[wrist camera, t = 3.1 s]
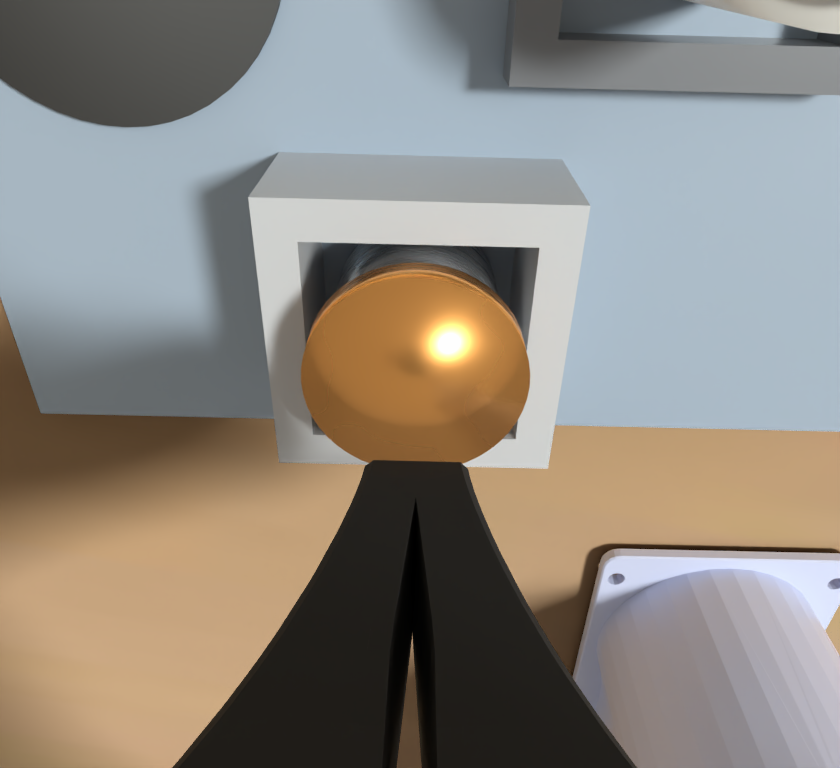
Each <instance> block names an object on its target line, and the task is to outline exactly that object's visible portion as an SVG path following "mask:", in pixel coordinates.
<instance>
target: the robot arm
mask: <svg viewBox="0 0 840 768" xmlns="http://www.w3.org/2000/svg"><path fill="white" fill-rule="evenodd" d="M617 573H618V574H617ZM612 574H616V575H612ZM839 604H840V553H801V552H754V551H708V550H662V549H612V550H610V551H608V552H606V553H605V554H604V555H603V556H602V558H601V561H600V565H599V569H598V573H597V577H596V581H595V586H594V590H593V594H592V598H591V602H590V606H589V611H588V615H587V619H586V623H585V627H584V631H583V635H582V640H581V644H580V648H579V652H578V656H577V660H576V664H575V669H574V673H573V677H572V676H571V675H570V673H569V672H568V670H567V668H566V667H565V665H564V664H563V662H562V661H561V659H560V658H559V656H558V654H557V653H556V651H555V650H554V648H553V646H552V645H551V643H550V641H549V640H548V638H547V636H546V635H545V633H544V631H543V630H542V628H541V626H540V625H539V623H538V621H537V620H536V618H535V616H534V615H533V613H532V611H531V609H530V608H529V606H528V604H527V602H526V600H525V599H524V597H523V595H522V593H521V592H520V590H519V588H518V586H517V584H516V582H515V580H514V578H513V576H512V574H511V572H510V570H509V568H508V566H507V564H506V563H505V561H504V559H503V557H502V555H501V553H500V551H499V549H498V547H497V544H496V542H495V540H494V538H493V536H492V534H491V531H490V529H489V527H488V525H487V522H486V520H485V518H484V515H483V513H482V510H481V508H480V505H479V503H478V500H477V498H476V495H475V492H474V489H473V486H472V483H471V480H470V476H469V472H468V469H467V468H466V467H465V466H464V465H463V464H462V463H461V462H435V461H394V460H373V461H371V462H370V463H369V464H367V465H366V466H365V468H364V472H363V475H362V478H361V481H360V483H359V486H358V489H357V491H356V494H355V496H354V498H353V501H352V503H351V505H350V507H349V509H348V511H347V513H346V515H345V518H344V520H343V522H342V524H341V526H340V528H339V530H338V532H337V534H336V535H335V537H334V539H333V541H332V543H331V544H330V546H329V548H328V550H327V552H326V554H325V555H324V557H323V559H322V561H321V563H320V564H319V566H318V568H317V570H316V572H315V573H314V575H313V577H312V578H311V580H310V582H309V583H308V585H307V587H306V588H305V590H304V591H303V593H302V594H301V596H300V597H299V599H298V601H297V602H296V604H295V605H294V607H293V608H292V610H291V612H290V613H289V615H288V616H287V618H286V619H285V621H284V622H283V624H282V626H281V627H280V629H279V630H278V632H277V633H276V635H275V636H274V638H273V639H272V641H271V642H270V643H269V645H268V646H267V648H266V649H265V651H264V652H263V653H262V655H261V656H260V658H259V659H258V660H257V662H256V663H255V665H254V666H253V667H252V669H251V670H250V671H249V673H248V674H247V675H246V677H245V678H244V679H243V681H242V682H241V683H240V685H239V686H238V687H237V689H236V690H235V691H234V693H233V694H232V695H231V697H230V698H229V699H228V701H227V702H226V703H225V704H224V706H223V707H222V708H221V709H220V711H219V712H218V713H217V714H216V716H215V717H214V718H213V719H212V720H211V722H210V723H209V724H208V725H207V727H206V728H205V729H204V730H203V731H202V733H201V734H200V735H199V736H198V738H197V739H196V740H195V741H194V742H193V744H192V745H191V746H190V747H189V748H188V750H187V751H186V752H185V753H184V755H183V756H182V757H181V758H180V759H179V761H178V762H177V763H176V764H175V765H174V766H173V768H396V767H397V758H398V750H399V741H400V733H401V724H402V716H403V708H404V699H405V691H406V682H407V674H408V665H409V657H410V648H411V640H412V633H413V648H414V662H415V677H416V691H417V706H418V720H419V734H420V748H421V762H422V768H840V656H839V654H838V652H837V650H836V649H835V647H834V645H833V644H832V642H831V640H830V638H829V637H828V635H827V633H826V631H825V630H826V628H827V626H828V624H829V623H830V621H831V619H832V617H833V615H834V613H835V612H836V610H837V608H838V606H839Z"/></svg>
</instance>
